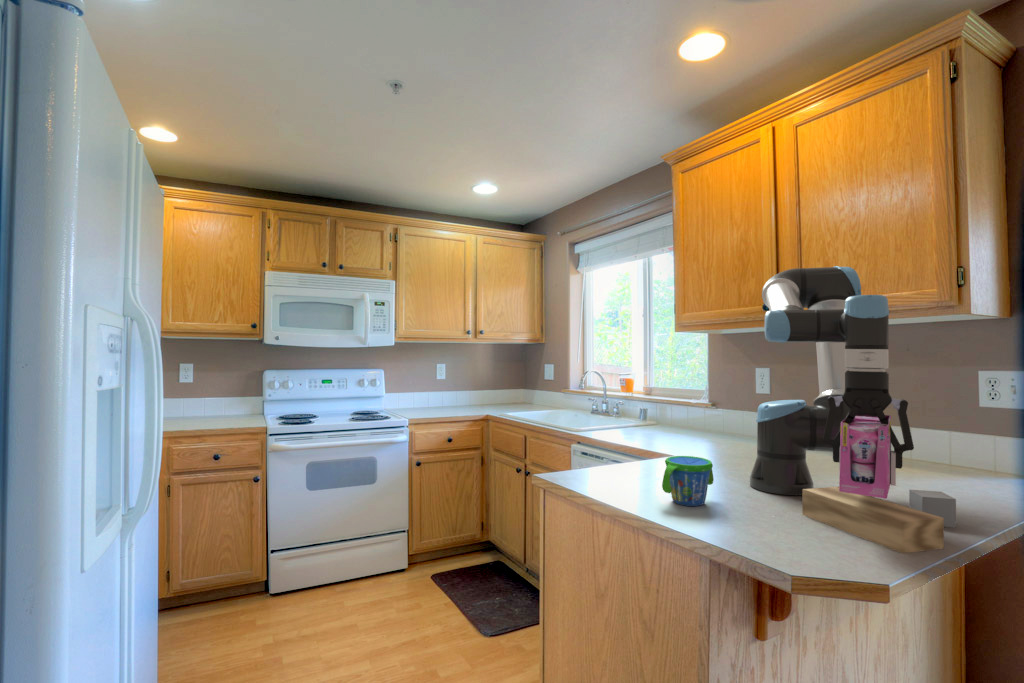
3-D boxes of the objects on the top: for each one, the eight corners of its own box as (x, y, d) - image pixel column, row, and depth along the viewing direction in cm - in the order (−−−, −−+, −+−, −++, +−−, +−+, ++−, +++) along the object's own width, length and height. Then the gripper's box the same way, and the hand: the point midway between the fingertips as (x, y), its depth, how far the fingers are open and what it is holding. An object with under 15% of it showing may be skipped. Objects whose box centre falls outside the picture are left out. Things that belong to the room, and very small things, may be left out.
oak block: (902, 555, 96) (902, 522, 96) (802, 516, 118) (802, 489, 119) (943, 550, 99) (943, 518, 99) (838, 512, 121) (838, 486, 121)
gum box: (888, 501, 97) (888, 426, 97) (837, 494, 101) (837, 422, 102) (892, 477, 116) (892, 415, 116) (849, 472, 120) (849, 412, 121)
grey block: (922, 525, 112) (922, 496, 112) (909, 516, 118) (909, 489, 118) (955, 527, 111) (955, 499, 111) (941, 519, 116) (941, 491, 116)
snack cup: (679, 513, 119) (679, 467, 119) (647, 500, 128) (648, 458, 128) (729, 504, 125) (729, 461, 126) (696, 493, 135) (696, 453, 135)
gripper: (807, 369, 111) (807, 478, 111) (933, 372, 101) (934, 492, 100) (808, 368, 118) (808, 471, 117) (927, 371, 107) (927, 484, 107)
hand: (866, 481), depth 109 cm, fingers closed on gum box, 8 cm apart
